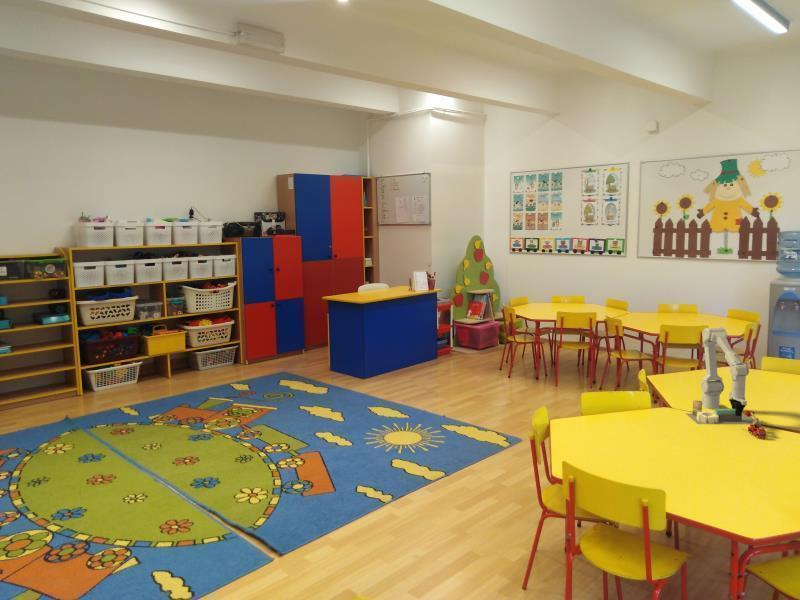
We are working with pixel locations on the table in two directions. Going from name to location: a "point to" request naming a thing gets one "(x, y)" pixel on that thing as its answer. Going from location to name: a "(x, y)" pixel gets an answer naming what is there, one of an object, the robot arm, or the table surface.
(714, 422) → the board
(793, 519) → the table surface
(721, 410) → the bar
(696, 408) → the peg
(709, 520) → the table surface
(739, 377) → the robot arm
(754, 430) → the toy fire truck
